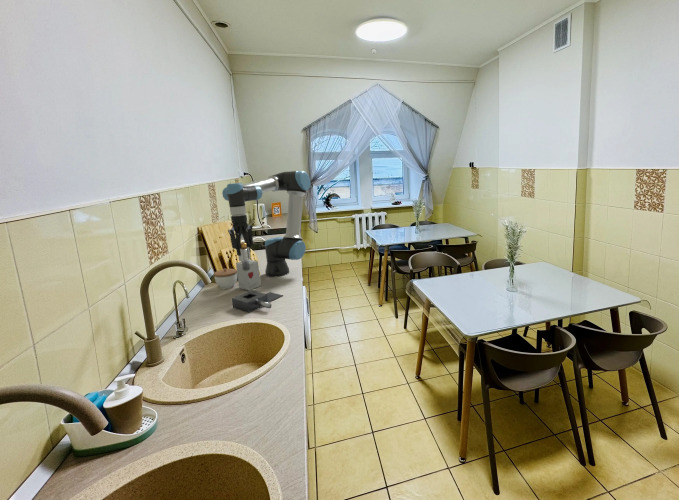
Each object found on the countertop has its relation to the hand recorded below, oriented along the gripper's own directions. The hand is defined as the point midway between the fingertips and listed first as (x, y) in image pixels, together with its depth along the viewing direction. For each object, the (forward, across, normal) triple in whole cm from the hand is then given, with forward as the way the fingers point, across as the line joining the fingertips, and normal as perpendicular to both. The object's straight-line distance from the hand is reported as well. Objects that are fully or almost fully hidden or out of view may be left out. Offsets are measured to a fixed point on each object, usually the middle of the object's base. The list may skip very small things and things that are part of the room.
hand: (244, 260), depth 167 cm
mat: (+20, -4, +11) cm, 23 cm away
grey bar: (+5, 0, 0) cm, 5 cm away
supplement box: (+20, -10, -12) cm, 25 cm away
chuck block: (+20, +8, +15) cm, 26 cm away
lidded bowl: (+20, -4, -25) cm, 32 cm away
